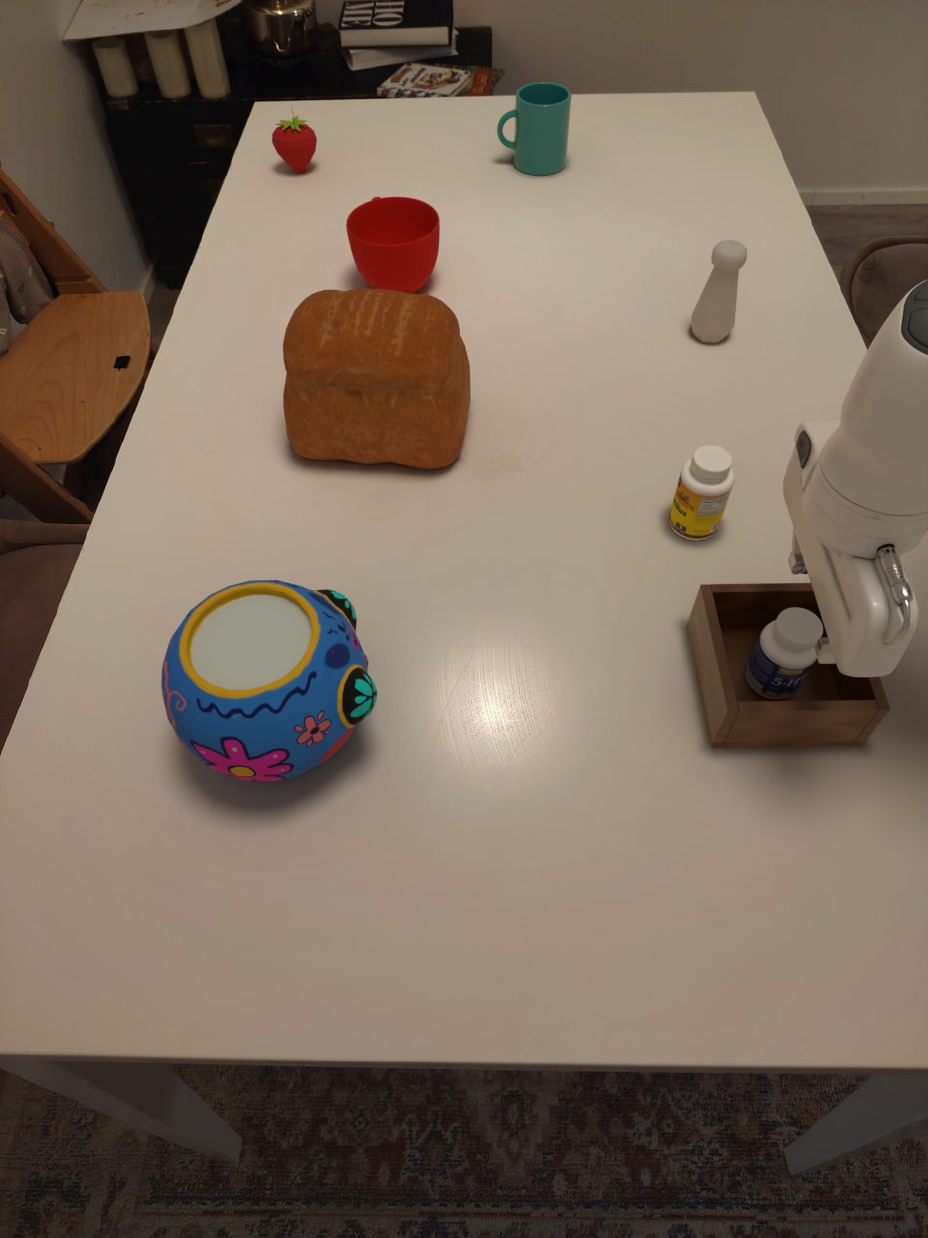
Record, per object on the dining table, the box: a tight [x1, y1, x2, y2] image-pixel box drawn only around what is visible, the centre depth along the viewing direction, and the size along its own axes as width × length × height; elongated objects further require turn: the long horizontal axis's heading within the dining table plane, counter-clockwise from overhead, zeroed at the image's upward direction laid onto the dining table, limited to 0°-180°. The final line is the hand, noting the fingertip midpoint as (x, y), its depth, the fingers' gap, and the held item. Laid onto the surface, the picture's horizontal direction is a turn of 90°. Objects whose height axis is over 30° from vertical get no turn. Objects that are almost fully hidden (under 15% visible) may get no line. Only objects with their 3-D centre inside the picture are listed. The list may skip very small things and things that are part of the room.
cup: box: [496, 81, 572, 177], centre depth 138 cm, size 9×12×11 cm
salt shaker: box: [690, 239, 748, 344], centre depth 108 cm, size 6×6×13 cm
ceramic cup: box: [345, 196, 441, 294], centre depth 119 cm, size 13×17×10 cm
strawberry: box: [271, 107, 318, 174], centre depth 138 cm, size 6×8×10 cm
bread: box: [282, 287, 472, 470], centre depth 97 cm, size 18×22×17 cm
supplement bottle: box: [668, 444, 735, 542], centre depth 89 cm, size 6×6×10 cm
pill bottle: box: [744, 607, 823, 700], centre depth 76 cm, size 5×5×9 cm
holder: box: [686, 582, 892, 748], centre depth 78 cm, size 14×14×7 cm
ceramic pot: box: [160, 579, 378, 783], centre depth 73 cm, size 18×18×15 cm
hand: (811, 610), depth 71 cm, fingers open, 8 cm apart
